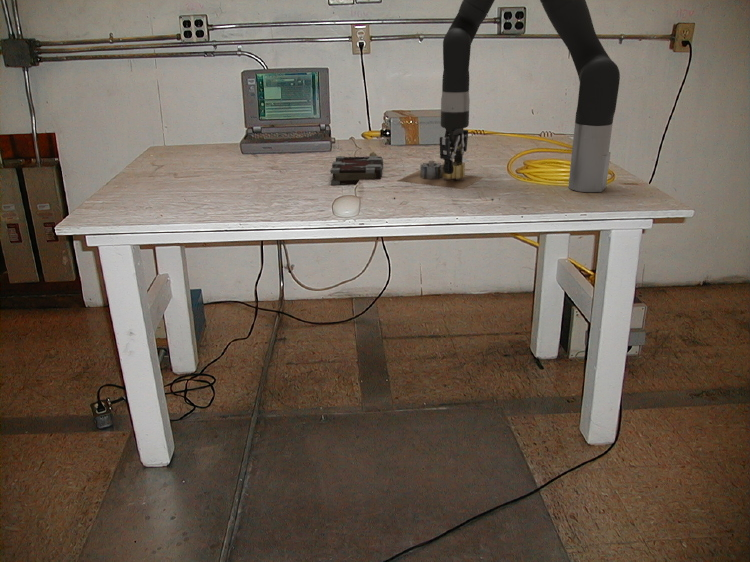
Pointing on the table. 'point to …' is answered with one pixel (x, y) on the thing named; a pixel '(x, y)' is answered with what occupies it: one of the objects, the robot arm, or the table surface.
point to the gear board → (442, 180)
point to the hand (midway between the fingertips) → (453, 170)
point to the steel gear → (431, 171)
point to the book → (356, 169)
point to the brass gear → (456, 171)
